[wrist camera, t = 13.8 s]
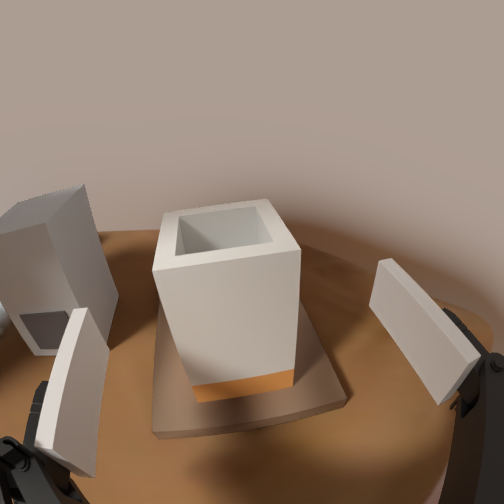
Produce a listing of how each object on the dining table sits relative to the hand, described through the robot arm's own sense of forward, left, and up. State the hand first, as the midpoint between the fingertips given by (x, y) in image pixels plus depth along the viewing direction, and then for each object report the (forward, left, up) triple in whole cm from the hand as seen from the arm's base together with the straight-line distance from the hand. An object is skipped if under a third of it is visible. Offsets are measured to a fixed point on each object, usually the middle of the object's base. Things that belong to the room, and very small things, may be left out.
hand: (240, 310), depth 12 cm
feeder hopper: (-15, +11, -9) cm, 21 cm away
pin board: (0, +8, -9) cm, 12 cm away
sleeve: (0, +3, -8) cm, 8 cm away
